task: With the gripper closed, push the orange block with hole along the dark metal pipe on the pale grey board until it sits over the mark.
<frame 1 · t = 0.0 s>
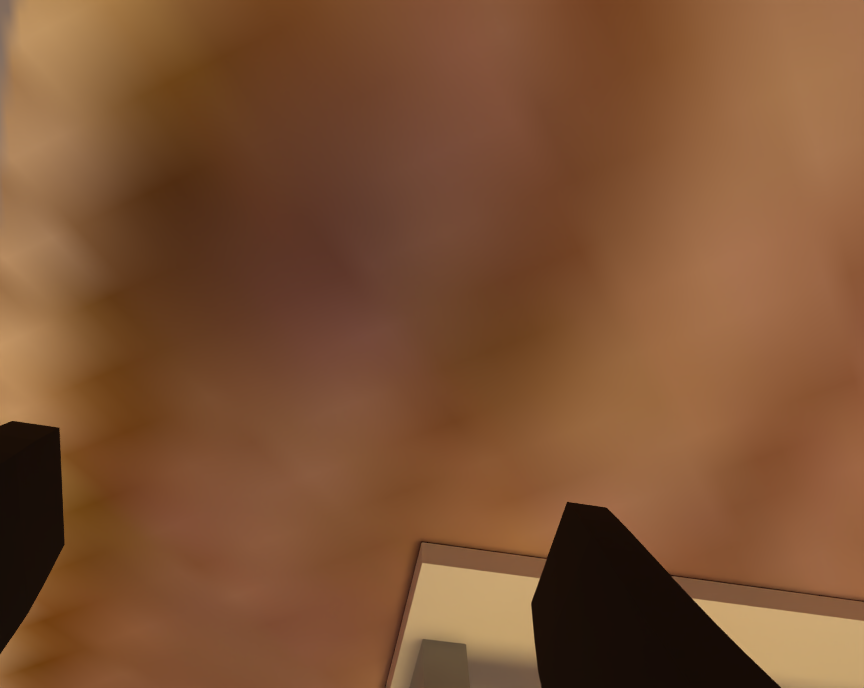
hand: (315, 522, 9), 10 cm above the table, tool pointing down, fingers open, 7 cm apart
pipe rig: (724, 680, 26), on the table
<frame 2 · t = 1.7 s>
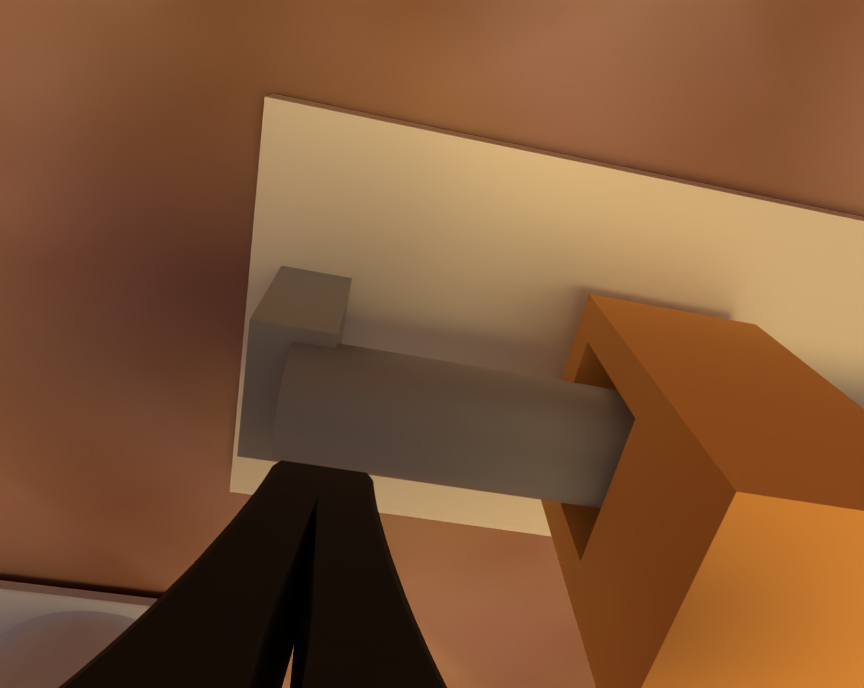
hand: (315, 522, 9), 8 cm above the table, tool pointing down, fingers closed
orange block with hole: (698, 492, 12), point 5 cm above the table, slide at 0.0 cm
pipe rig: (755, 391, 17), on the table
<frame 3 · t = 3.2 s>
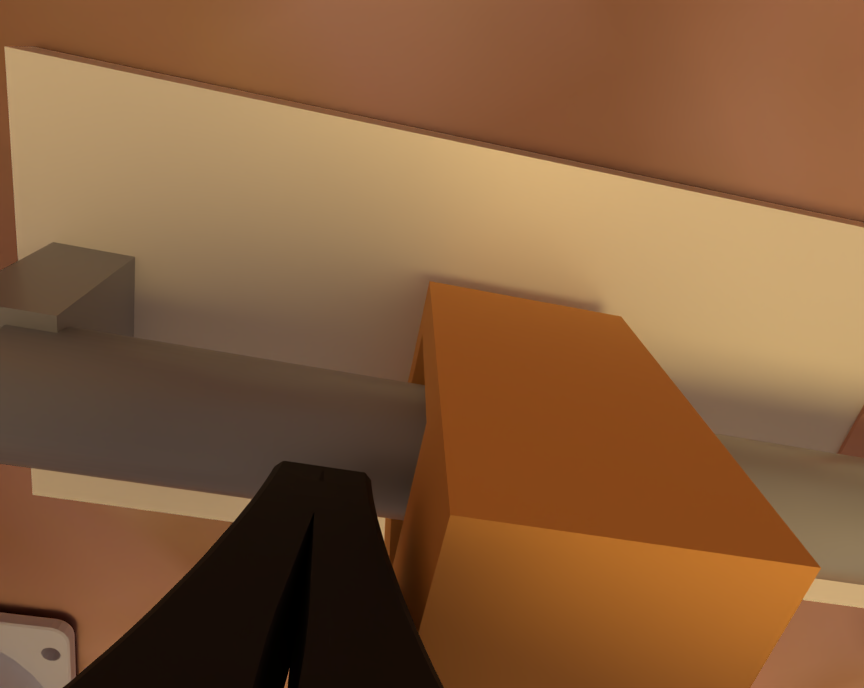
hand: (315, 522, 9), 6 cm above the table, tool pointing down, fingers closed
orange block with hole: (524, 506, 11), point 5 cm above the table, slide at 0.7 cm, touching gripper
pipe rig: (616, 386, 16), on the table
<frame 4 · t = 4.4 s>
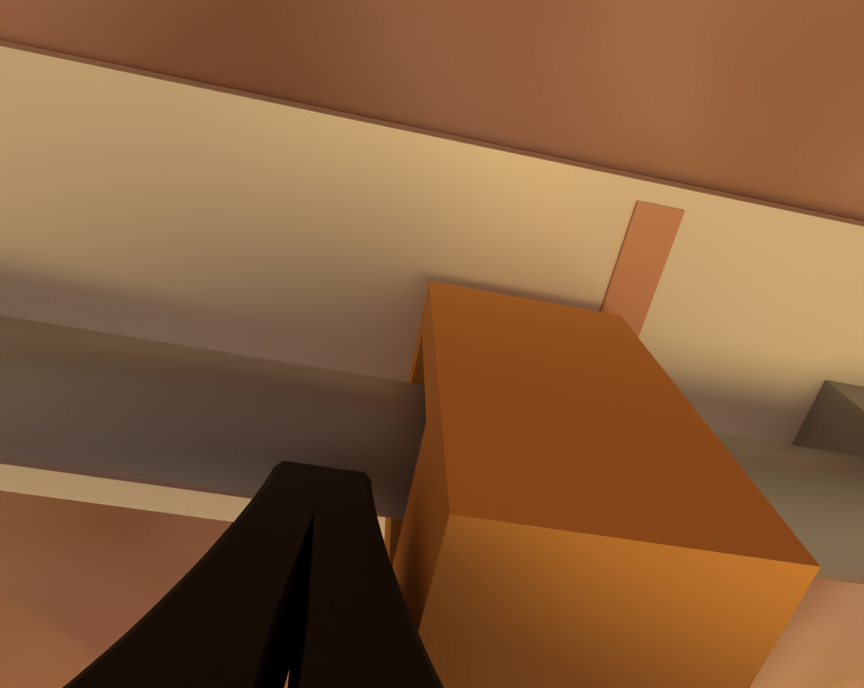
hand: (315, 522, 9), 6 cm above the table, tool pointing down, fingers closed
orange block with hole: (524, 505, 11), point 5 cm above the table, slide at 7.7 cm, touching gripper
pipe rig: (338, 338, 15), on the table
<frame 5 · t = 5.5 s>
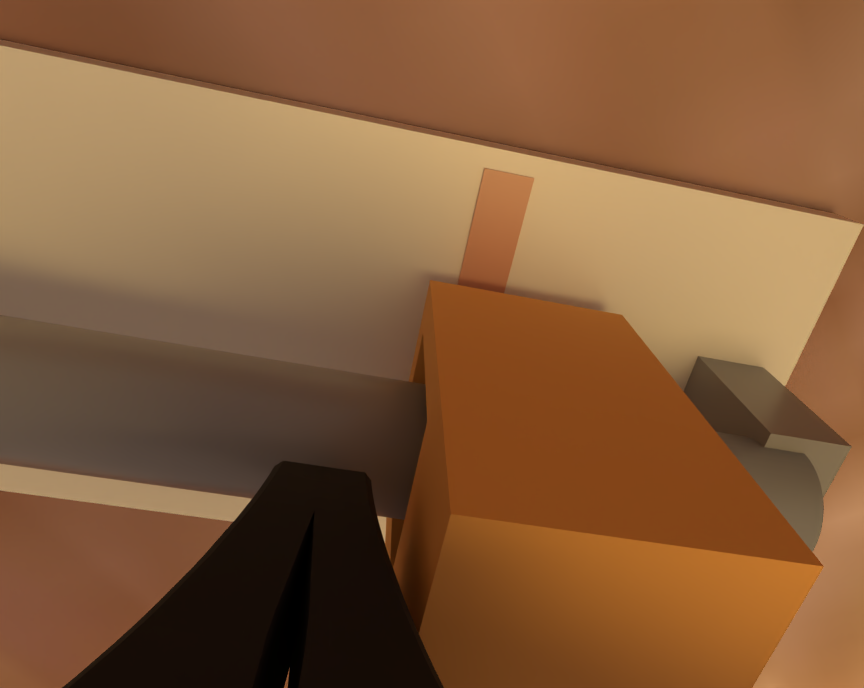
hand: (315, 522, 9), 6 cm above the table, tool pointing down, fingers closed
orange block with hole: (525, 505, 11), point 5 cm above the table, slide at 10.8 cm, touching gripper
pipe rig: (200, 314, 15), on the table
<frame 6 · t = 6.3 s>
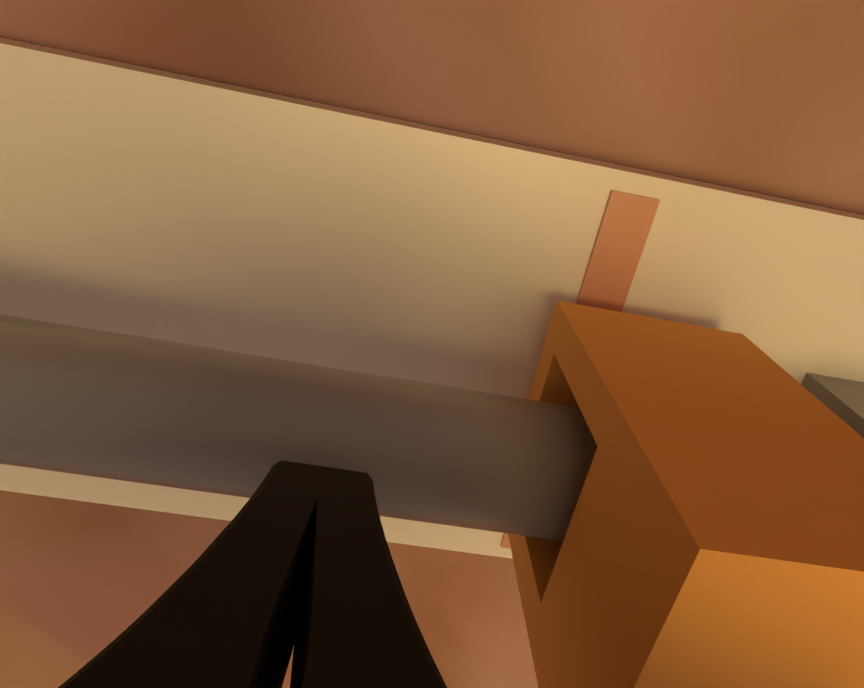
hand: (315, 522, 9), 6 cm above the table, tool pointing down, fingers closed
orange block with hole: (674, 525, 11), point 5 cm above the table, slide at 10.8 cm
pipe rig: (313, 331, 15), on the table
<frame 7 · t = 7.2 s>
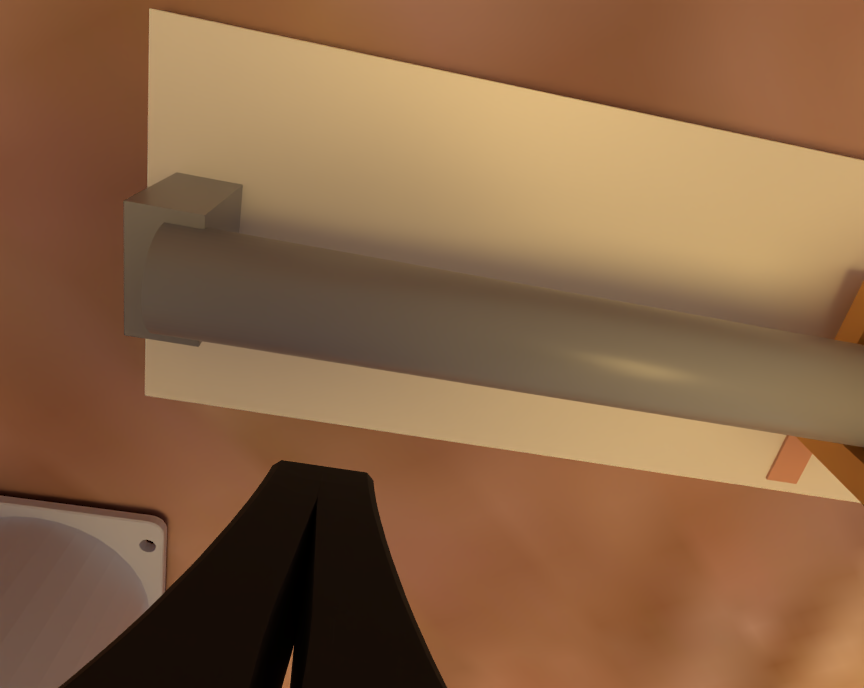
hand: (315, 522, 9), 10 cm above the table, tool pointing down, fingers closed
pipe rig: (637, 302, 19), on the table
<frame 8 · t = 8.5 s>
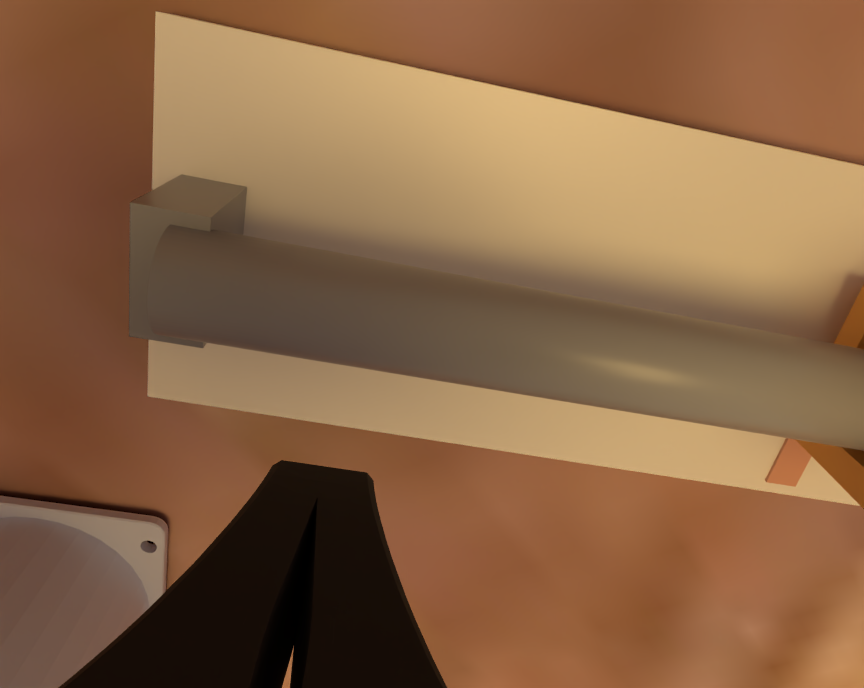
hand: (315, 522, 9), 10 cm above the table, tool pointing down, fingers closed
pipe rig: (638, 305, 19), on the table
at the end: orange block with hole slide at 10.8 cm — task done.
